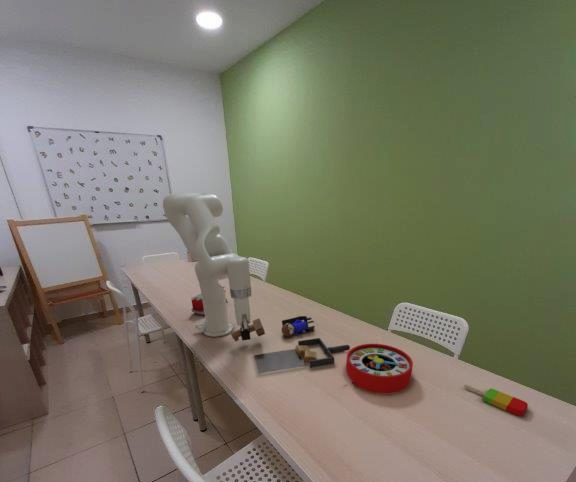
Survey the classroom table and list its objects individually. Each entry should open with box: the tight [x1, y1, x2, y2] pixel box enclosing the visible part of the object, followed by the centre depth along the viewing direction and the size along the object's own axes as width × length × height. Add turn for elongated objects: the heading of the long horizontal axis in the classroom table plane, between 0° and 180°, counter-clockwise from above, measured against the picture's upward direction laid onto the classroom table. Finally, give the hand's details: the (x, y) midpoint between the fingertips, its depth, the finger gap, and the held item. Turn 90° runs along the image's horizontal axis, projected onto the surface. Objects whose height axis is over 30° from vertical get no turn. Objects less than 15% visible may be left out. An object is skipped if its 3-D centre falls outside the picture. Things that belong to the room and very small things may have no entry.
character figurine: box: [281, 315, 316, 337], centre depth 123 cm, size 8×7×15 cm
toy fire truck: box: [190, 286, 229, 315], centre depth 151 cm, size 9×19×10 cm, turn 148°
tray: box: [254, 348, 307, 374], centre depth 105 cm, size 16×12×1 cm
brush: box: [230, 318, 266, 342], centre depth 114 cm, size 12×9×3 cm
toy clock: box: [345, 343, 414, 395], centre depth 96 cm, size 20×6×20 cm
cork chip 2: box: [303, 350, 317, 364], centre depth 104 cm, size 4×4×2 cm
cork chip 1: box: [295, 344, 311, 358], centre depth 108 cm, size 4×4×2 cm
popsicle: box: [463, 384, 529, 417], centre depth 84 cm, size 6×15×2 cm, turn 42°
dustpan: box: [297, 337, 351, 368], centre depth 108 cm, size 18×15×3 cm
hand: (245, 337), depth 114 cm, fingers closed on brush, 2 cm apart
